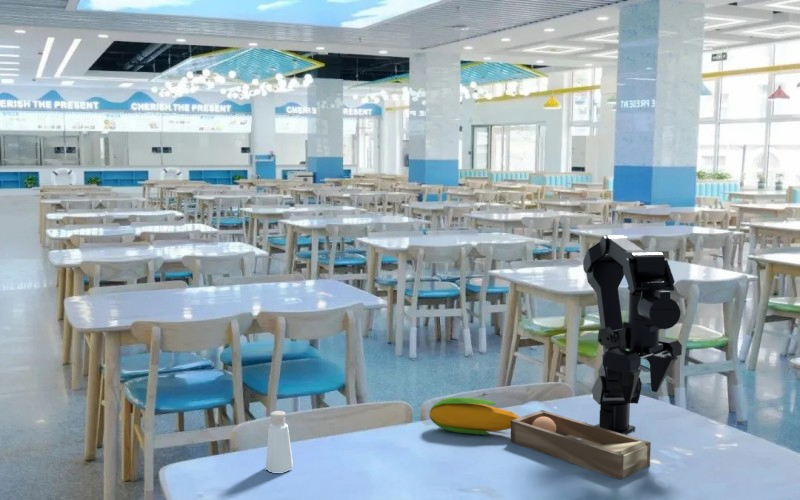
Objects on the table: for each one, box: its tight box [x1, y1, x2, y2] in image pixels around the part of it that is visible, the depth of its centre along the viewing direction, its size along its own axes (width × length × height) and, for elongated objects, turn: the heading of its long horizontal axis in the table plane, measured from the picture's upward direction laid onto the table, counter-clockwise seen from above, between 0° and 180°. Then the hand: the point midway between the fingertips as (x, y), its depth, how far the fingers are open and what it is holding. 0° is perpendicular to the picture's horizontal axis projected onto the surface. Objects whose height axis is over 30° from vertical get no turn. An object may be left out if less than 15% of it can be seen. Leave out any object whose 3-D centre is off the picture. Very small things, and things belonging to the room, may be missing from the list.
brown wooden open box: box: [510, 409, 652, 480], centre depth 162 cm, size 10×26×5 cm, turn 41°
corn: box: [429, 397, 520, 435], centre depth 174 cm, size 7×8×20 cm
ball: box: [532, 417, 556, 433], centre depth 168 cm, size 5×5×5 cm
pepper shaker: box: [265, 410, 294, 472], centre depth 155 cm, size 5×5×11 cm
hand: (641, 396), depth 159 cm, fingers open, 9 cm apart
